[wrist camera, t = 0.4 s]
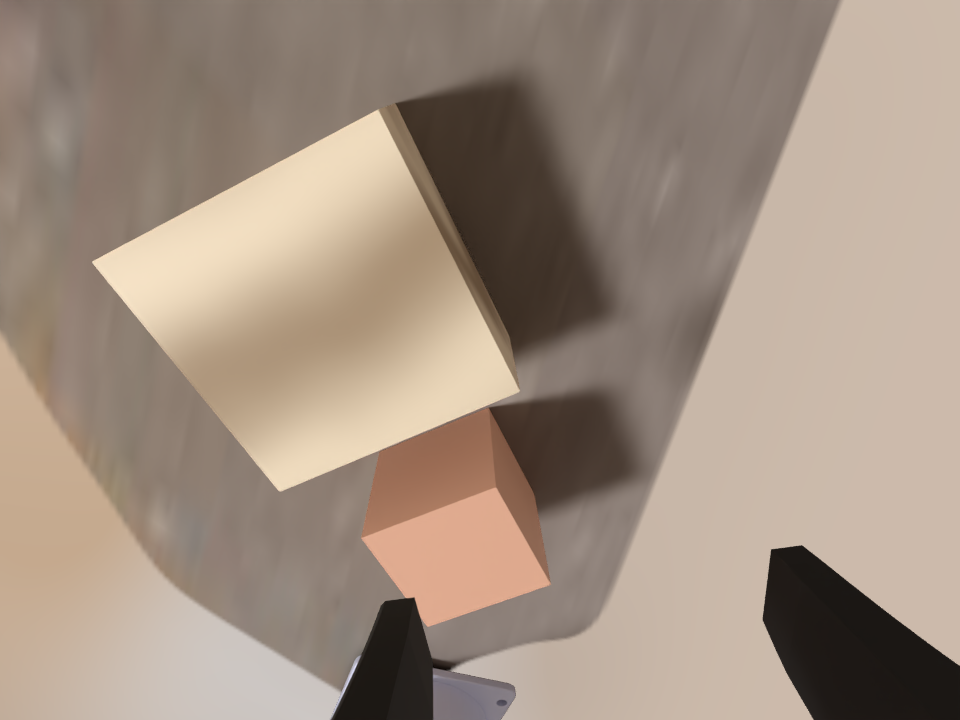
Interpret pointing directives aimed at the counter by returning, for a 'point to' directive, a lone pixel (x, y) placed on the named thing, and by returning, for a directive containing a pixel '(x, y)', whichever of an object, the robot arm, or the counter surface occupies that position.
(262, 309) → the birch block
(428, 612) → the terracotta cube
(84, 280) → the counter surface
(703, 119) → the counter surface
